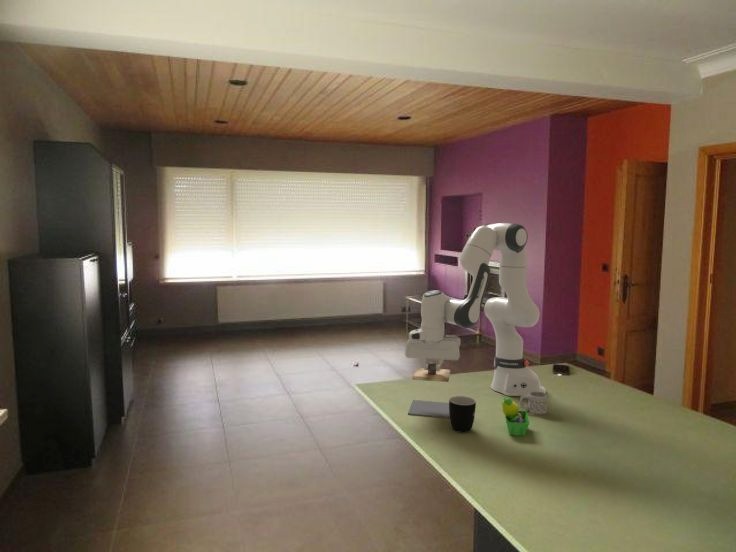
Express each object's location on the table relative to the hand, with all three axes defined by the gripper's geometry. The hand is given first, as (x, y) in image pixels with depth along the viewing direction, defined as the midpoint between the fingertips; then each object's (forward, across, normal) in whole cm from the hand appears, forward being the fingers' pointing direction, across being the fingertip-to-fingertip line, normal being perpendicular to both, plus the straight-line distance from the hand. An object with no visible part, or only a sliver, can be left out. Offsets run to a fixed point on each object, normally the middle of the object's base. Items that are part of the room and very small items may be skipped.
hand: (432, 370), depth 197 cm
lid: (+2, 0, 0) cm, 2 cm away
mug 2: (+16, -38, -8) cm, 42 cm away
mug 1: (+15, -12, +16) cm, 25 cm away
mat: (+15, 0, 0) cm, 15 cm away
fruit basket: (+16, -30, +14) cm, 36 cm away
